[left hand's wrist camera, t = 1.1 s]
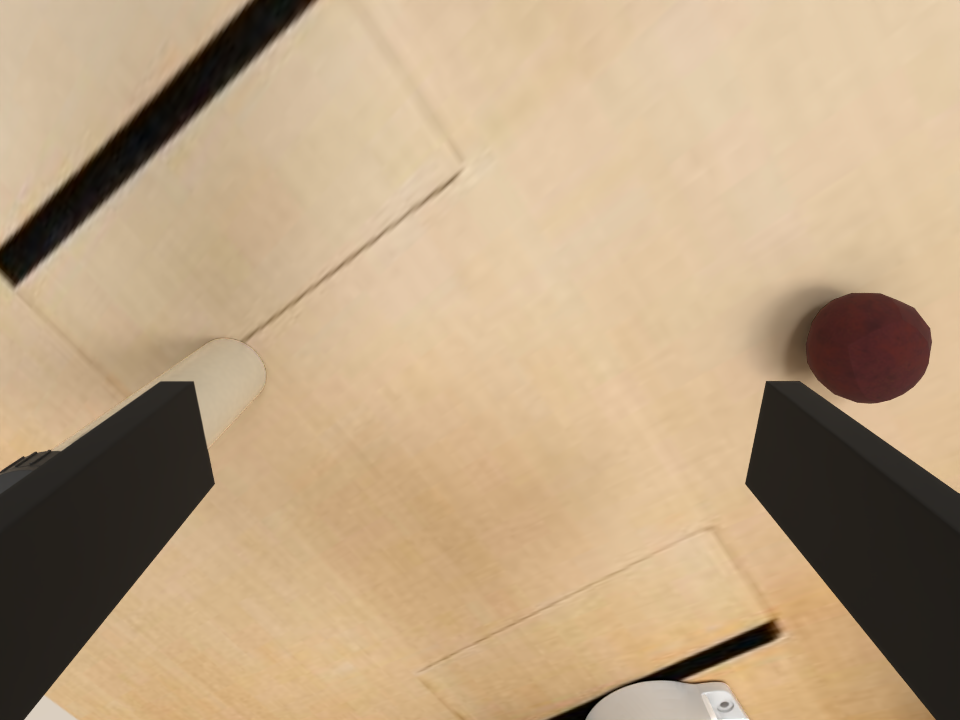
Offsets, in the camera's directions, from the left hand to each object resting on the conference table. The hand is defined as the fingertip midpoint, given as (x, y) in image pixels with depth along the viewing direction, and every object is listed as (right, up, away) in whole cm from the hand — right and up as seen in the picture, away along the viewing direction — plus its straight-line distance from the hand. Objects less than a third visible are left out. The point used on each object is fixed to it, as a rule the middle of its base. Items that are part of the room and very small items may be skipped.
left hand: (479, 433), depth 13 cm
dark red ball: (+27, +4, +28) cm, 39 cm away
